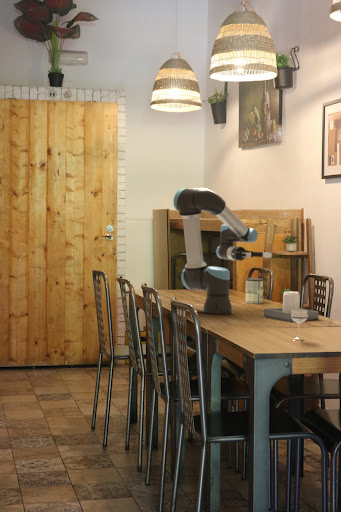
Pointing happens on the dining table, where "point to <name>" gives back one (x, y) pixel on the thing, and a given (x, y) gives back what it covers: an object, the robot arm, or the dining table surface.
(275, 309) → the bin
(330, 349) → the dining table surface
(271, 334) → the dining table surface
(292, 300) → the beverage can
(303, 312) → the wineglass
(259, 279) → the coffee can
